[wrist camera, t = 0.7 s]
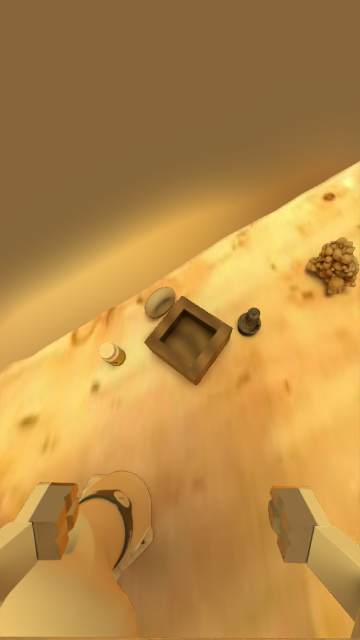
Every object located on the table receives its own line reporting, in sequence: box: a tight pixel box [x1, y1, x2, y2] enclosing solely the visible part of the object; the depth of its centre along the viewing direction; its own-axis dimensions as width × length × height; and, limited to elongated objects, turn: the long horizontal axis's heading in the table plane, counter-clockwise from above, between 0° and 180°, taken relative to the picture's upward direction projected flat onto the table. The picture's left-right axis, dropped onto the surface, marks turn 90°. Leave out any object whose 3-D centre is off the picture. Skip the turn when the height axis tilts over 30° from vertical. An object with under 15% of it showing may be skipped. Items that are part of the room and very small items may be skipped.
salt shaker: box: [238, 308, 261, 336], centre depth 63 cm, size 6×6×12 cm
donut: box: [145, 287, 175, 318], centre depth 68 cm, size 10×4×10 cm, turn 132°
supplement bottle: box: [99, 343, 125, 366], centre depth 65 cm, size 5×5×8 cm
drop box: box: [144, 296, 233, 386], centre depth 63 cm, size 15×15×10 cm
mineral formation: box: [307, 237, 359, 294], centre depth 64 cm, size 8×13×15 cm, turn 29°
